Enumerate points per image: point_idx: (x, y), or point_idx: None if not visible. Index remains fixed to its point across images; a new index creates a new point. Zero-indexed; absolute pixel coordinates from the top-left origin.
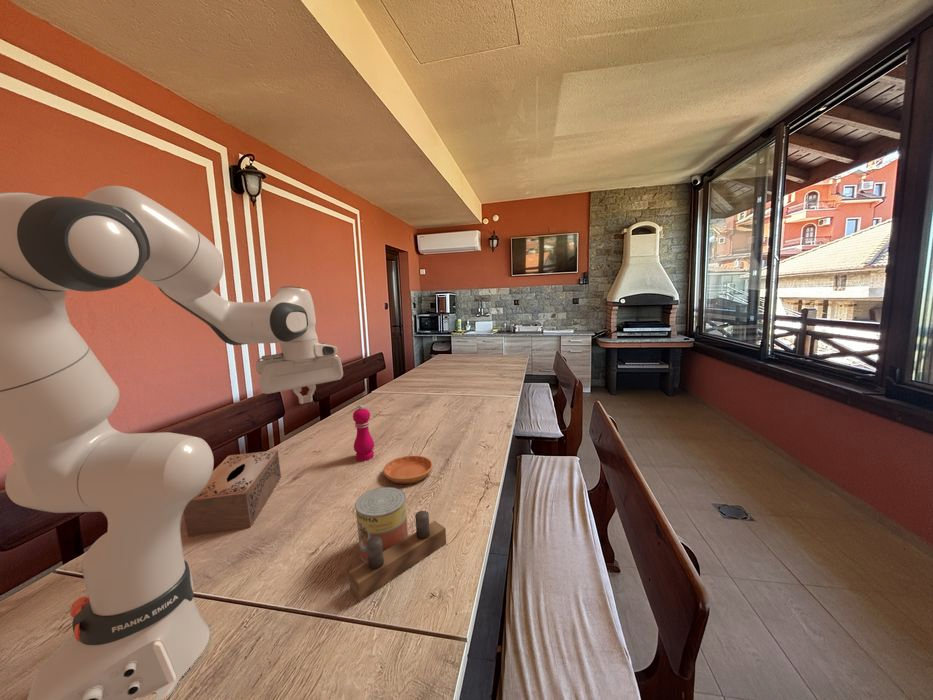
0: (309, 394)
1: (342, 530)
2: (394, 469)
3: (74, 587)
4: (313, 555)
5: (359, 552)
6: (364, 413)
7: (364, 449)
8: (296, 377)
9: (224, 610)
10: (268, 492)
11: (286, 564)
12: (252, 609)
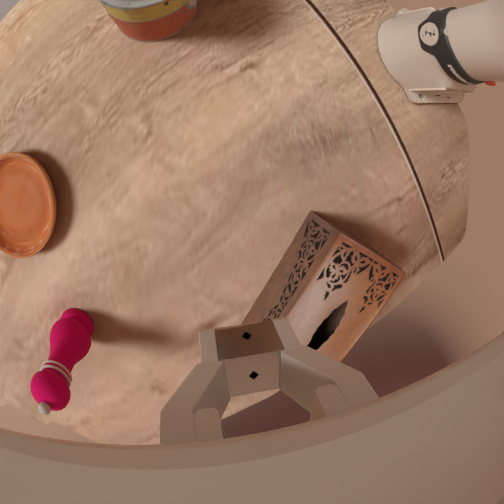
0: (222, 379)
1: (189, 87)
2: (36, 233)
3: (444, 227)
4: (252, 60)
5: (193, 17)
6: (38, 385)
7: (70, 322)
8: (443, 490)
9: (364, 58)
10: (266, 292)
11: (291, 71)
12: (340, 33)
